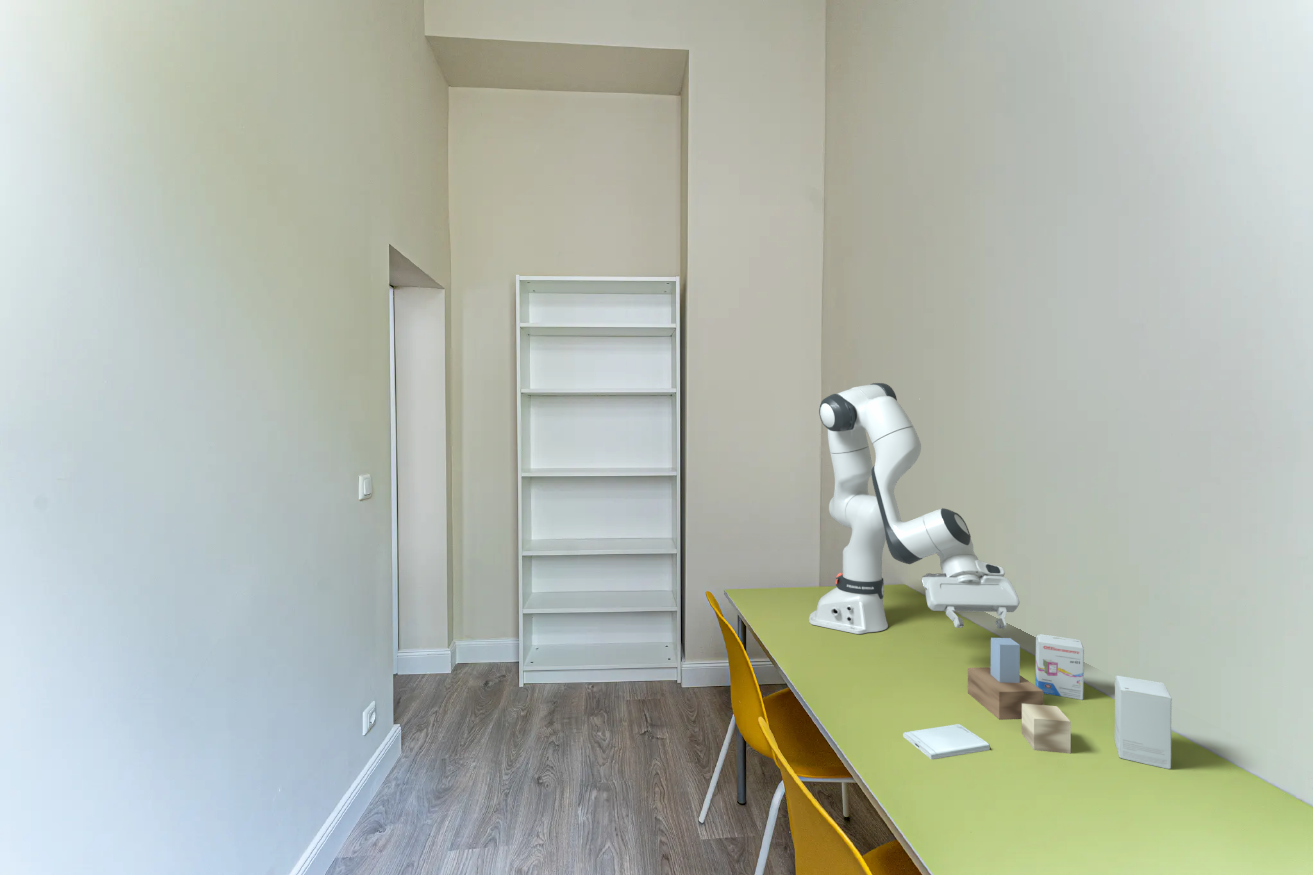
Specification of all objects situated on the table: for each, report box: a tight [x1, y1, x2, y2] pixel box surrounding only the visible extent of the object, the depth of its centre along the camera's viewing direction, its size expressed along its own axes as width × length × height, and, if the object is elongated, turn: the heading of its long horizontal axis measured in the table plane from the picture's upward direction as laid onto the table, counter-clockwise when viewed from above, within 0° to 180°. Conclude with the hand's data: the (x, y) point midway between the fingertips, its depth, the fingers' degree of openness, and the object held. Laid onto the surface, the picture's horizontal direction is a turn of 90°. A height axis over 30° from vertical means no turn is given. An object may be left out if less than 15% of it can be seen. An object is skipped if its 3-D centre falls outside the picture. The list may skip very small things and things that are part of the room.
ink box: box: [1035, 633, 1085, 701], centre depth 134 cm, size 9×5×12 cm, turn 62°
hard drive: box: [902, 723, 991, 760], centre depth 114 cm, size 2×8×12 cm
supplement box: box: [1114, 675, 1173, 770], centre depth 109 cm, size 7×7×13 cm
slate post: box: [990, 637, 1021, 683], centre depth 129 cm, size 4×4×8 cm
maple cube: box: [1021, 704, 1072, 754], centre depth 114 cm, size 6×6×6 cm
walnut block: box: [967, 666, 1044, 721], centre depth 129 cm, size 9×12×6 cm
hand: (980, 627), depth 140 cm, fingers open, 8 cm apart
